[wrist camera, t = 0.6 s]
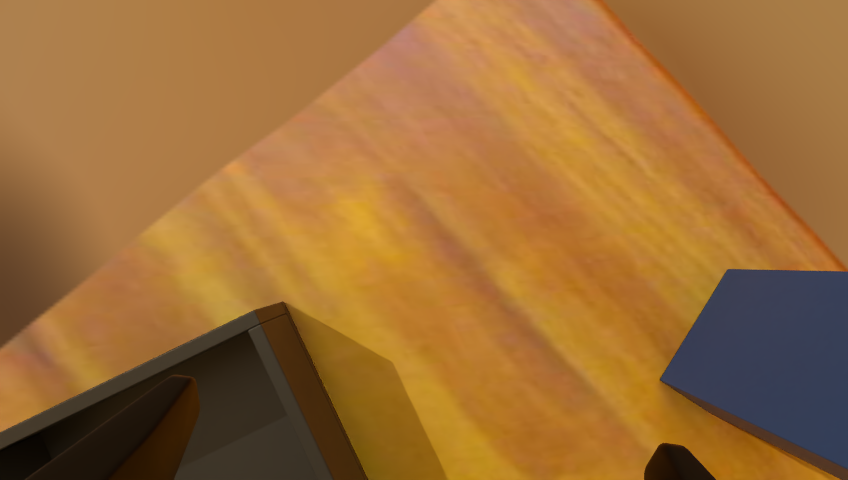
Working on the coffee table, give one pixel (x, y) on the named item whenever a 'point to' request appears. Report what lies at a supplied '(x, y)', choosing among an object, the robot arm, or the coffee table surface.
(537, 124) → the coffee table surface
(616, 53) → the coffee table surface
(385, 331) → the coffee table surface
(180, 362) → the dark open-top box
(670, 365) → the blue block
